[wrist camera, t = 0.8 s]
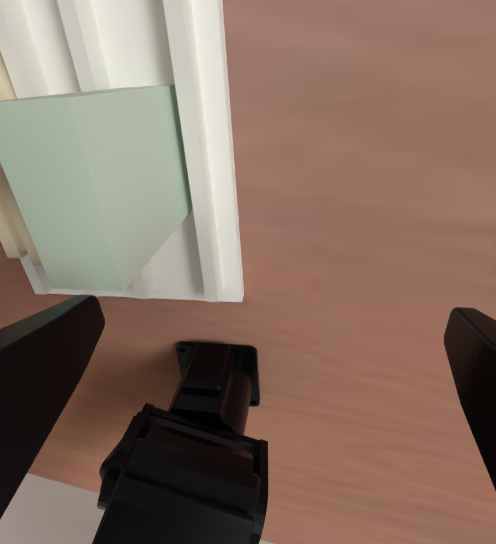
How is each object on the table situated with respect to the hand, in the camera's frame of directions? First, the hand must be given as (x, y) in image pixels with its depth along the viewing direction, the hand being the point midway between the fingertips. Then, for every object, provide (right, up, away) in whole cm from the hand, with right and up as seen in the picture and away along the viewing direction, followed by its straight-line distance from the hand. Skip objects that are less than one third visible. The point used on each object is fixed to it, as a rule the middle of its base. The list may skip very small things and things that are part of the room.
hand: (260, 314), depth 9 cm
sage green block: (-5, +8, +10) cm, 14 cm away
